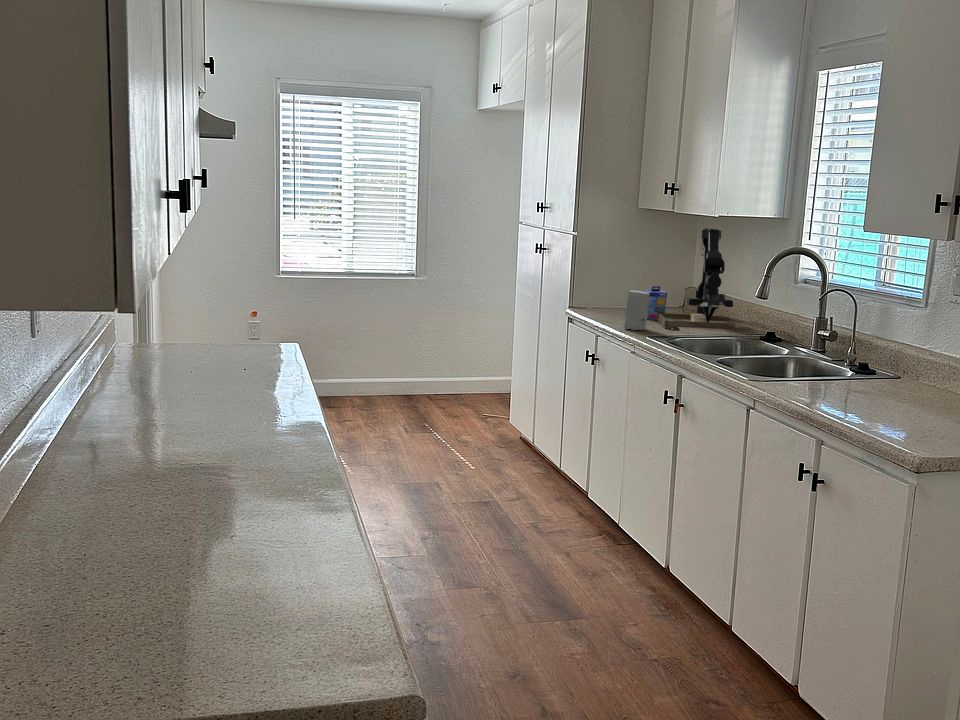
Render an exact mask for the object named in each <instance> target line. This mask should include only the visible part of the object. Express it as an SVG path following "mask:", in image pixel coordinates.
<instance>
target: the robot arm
mask: <svg viewBox="0 0 960 720" xmlns="http://www.w3.org/2000/svg"><path fill="white" fill-rule="evenodd" d="M700 239H701V244H702V246H703V248H704V252H703V253H704V254H703V261H702V262H703V264H702V275H701V281H700V282H699V283H698V286H697V287H696V288H697V289H696V290H695V293H694V296H688V297H686V301H685V304H687V305H688V306H695V307H696V312H695V314H703V315H705V316H706V320H705V322H709V321H710V319H711V317H712V315H713V314H714V312H715V311H716V310H717V309H720V307H719V306H721V305H722V306H725V308H733V307H734V301H733V300H732V299H731V298H726V294H725V293H719V288H720V287H721V285H722V279H721V277H720V275H721V274H724V272H725V270H726V269H725V268H726V267H725V265H726V264H725V261H724V260H725V259H724V258H723V255H722V253H721V252H720V251H719V249H720V248H719V247H720V246H719V241H720V240H722V230H719V228H708V227H704V228H703V229H701V231H700Z"/></svg>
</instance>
